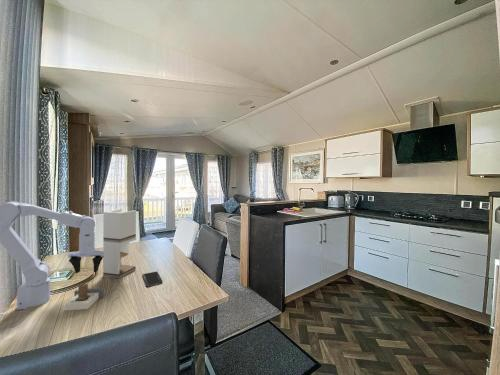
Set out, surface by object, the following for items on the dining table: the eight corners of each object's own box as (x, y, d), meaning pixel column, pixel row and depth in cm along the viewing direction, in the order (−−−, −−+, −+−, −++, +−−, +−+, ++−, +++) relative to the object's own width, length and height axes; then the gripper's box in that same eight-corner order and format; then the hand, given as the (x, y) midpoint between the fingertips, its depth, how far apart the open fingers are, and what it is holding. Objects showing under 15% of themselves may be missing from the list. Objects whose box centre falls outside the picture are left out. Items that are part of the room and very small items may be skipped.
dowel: (80, 302, 89) (81, 284, 89) (88, 302, 90) (89, 283, 90) (76, 307, 86) (76, 287, 86) (84, 306, 87) (85, 287, 87)
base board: (45, 326, 76) (45, 313, 76) (76, 299, 93) (76, 289, 92) (80, 323, 78) (80, 311, 77) (104, 298, 94) (104, 288, 94)
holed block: (65, 310, 83) (65, 304, 83) (78, 299, 91) (78, 293, 91) (87, 309, 85) (87, 303, 85) (98, 298, 93) (98, 292, 93)
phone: (146, 285, 105) (142, 274, 117) (146, 288, 105) (142, 276, 117) (163, 281, 109) (157, 271, 121) (163, 284, 109) (157, 273, 122)
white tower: (119, 278, 113) (120, 213, 112) (103, 276, 115) (103, 212, 114) (135, 269, 124) (136, 210, 123) (120, 267, 126) (120, 209, 125)
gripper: (63, 246, 93) (63, 276, 94) (99, 245, 96) (99, 275, 96) (73, 241, 100) (73, 269, 101) (107, 240, 103) (107, 268, 103)
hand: (86, 271), depth 99 cm, fingers open, 7 cm apart
